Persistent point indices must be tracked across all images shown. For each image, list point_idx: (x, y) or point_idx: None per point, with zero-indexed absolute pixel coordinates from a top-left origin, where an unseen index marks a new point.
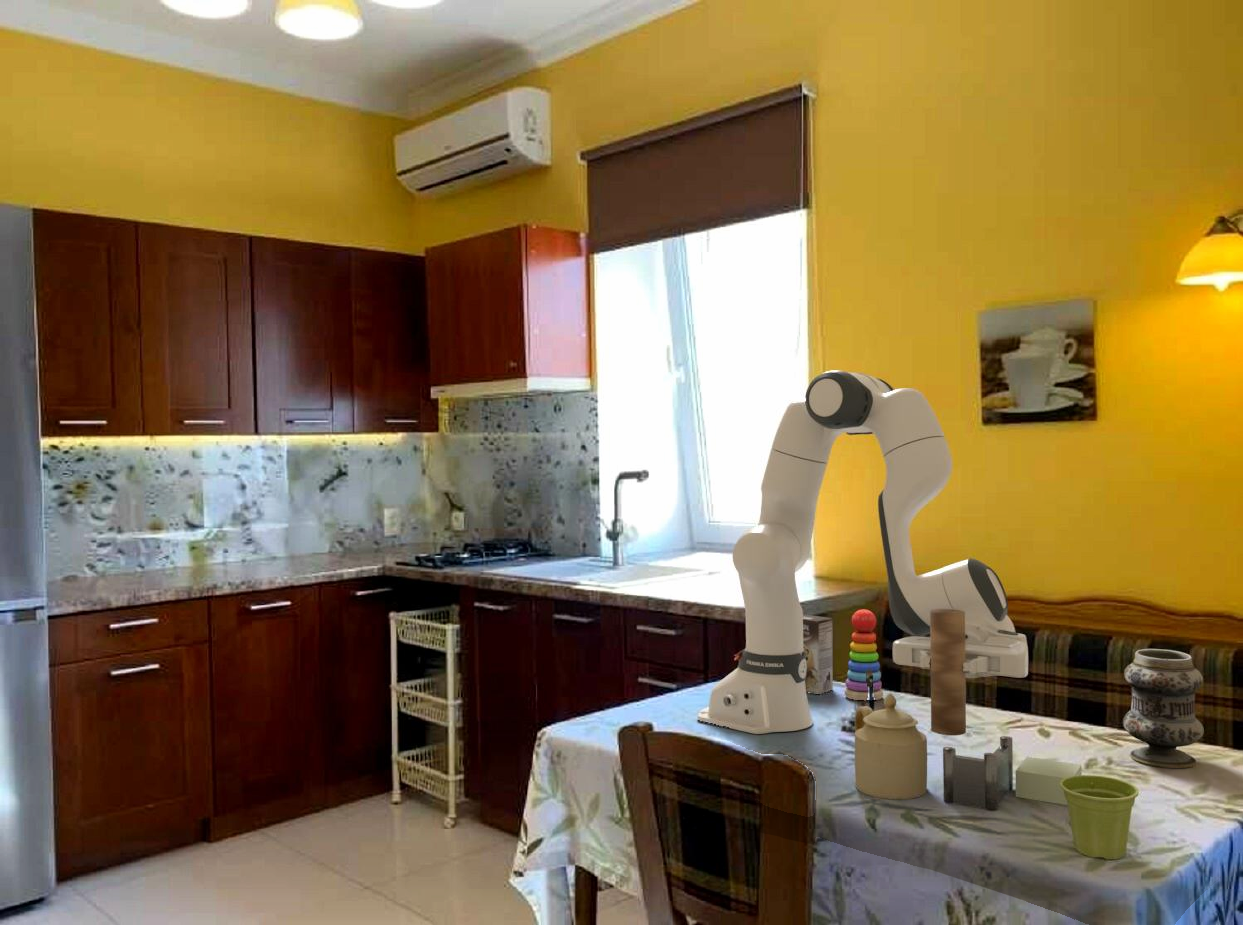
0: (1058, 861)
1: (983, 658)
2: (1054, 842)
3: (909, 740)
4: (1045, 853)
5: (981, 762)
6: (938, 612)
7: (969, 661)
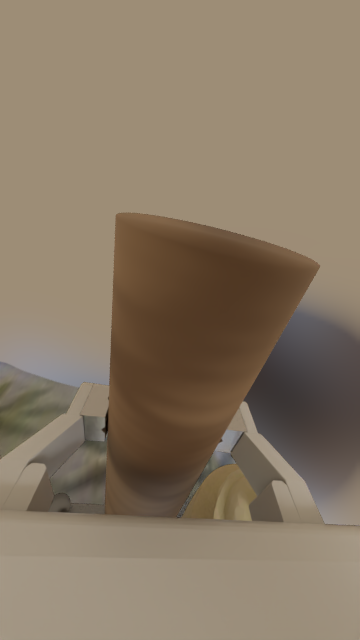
0: (29, 392)
1: (20, 447)
2: (12, 435)
3: (207, 496)
4: (35, 404)
5: (76, 504)
6: (239, 236)
7: (94, 388)
